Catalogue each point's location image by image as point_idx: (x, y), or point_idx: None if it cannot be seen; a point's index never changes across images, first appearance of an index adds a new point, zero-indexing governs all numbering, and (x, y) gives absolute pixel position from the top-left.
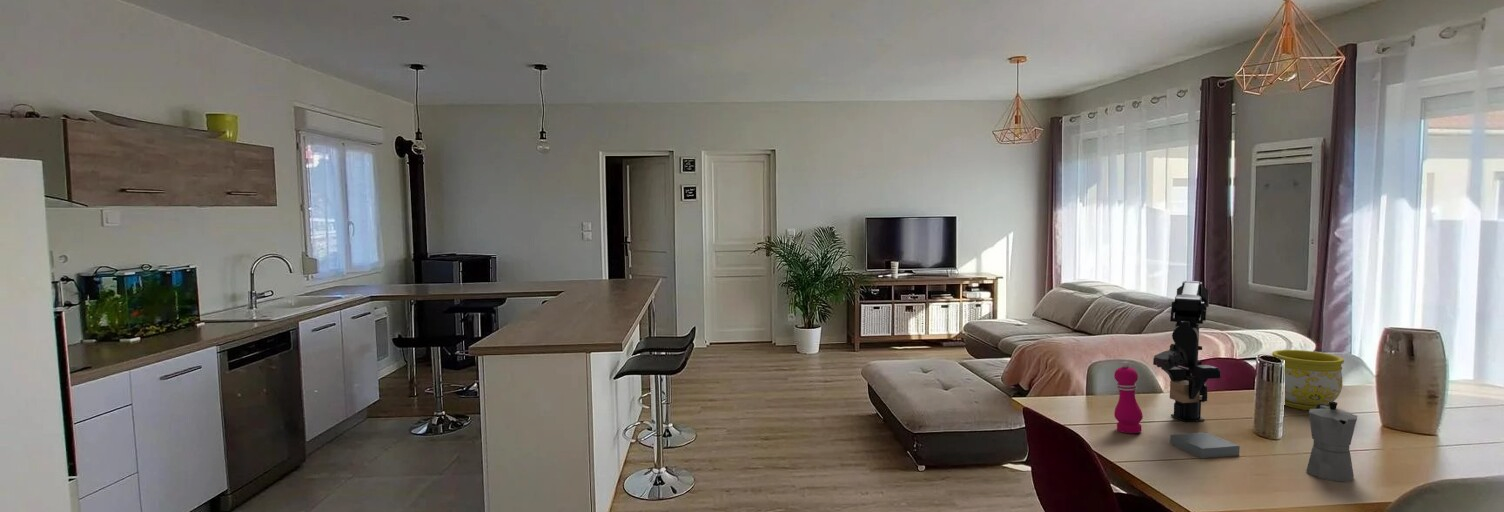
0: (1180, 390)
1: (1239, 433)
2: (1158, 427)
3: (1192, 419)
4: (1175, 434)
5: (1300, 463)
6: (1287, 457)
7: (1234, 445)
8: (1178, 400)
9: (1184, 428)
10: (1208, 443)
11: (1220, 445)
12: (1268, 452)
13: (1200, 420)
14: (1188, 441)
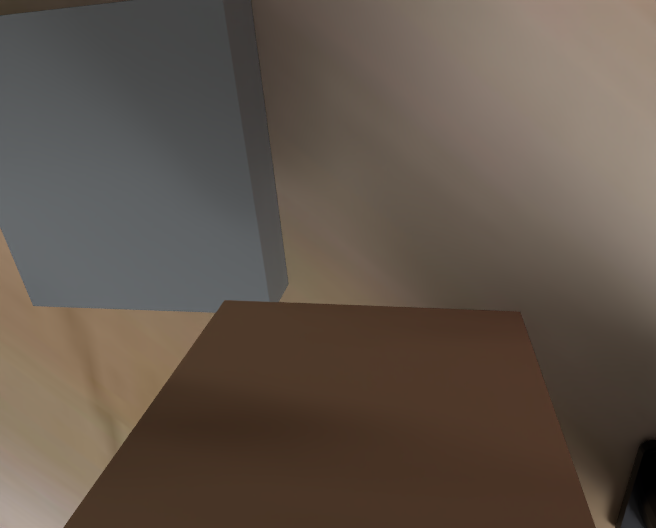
0: (208, 453)
1: None
2: (636, 193)
3: (646, 489)
4: (230, 50)
5: (15, 419)
6: (77, 432)
7: (31, 283)
8: (308, 310)
9: (542, 346)
10: (39, 157)
11: (13, 205)
12: (129, 419)
13: (621, 515)
14: (59, 33)
